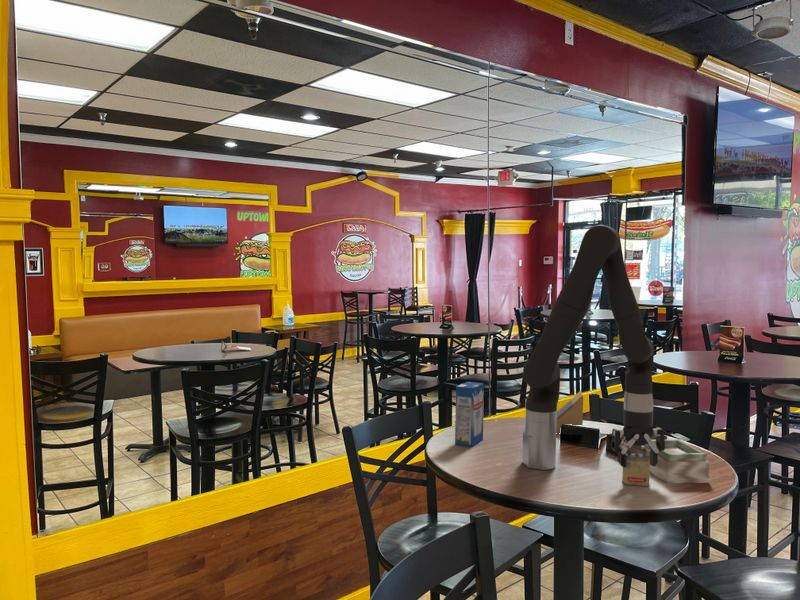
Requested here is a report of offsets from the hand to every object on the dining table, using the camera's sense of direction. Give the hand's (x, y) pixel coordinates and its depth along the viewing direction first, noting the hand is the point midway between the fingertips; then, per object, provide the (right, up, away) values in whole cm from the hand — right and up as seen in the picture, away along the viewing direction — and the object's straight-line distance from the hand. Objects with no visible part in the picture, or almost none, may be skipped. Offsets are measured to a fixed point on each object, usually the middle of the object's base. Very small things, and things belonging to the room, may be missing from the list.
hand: (637, 465), depth 156 cm
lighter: (0, -5, +1) cm, 5 cm away
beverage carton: (+11, -4, +28) cm, 31 cm away
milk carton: (-42, -3, +37) cm, 57 cm away
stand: (+14, -5, +9) cm, 17 cm away
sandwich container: (-7, -3, +52) cm, 53 cm away
